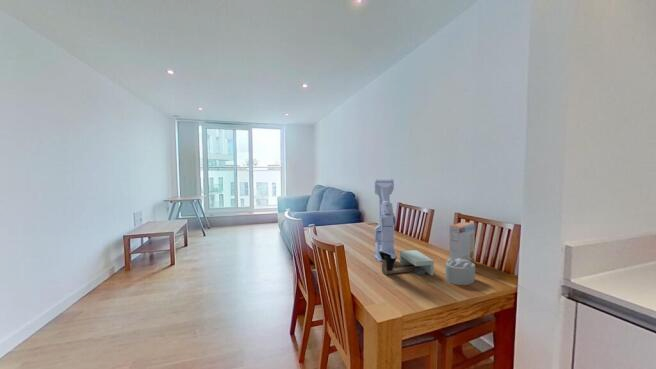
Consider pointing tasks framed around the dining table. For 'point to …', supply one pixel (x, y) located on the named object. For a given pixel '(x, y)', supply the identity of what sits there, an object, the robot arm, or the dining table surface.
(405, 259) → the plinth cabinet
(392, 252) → the robot arm
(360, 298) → the dining table surface
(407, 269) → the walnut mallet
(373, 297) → the dining table surface
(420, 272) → the grey square block
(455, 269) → the lumpy-topped squat cylinder
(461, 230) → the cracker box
